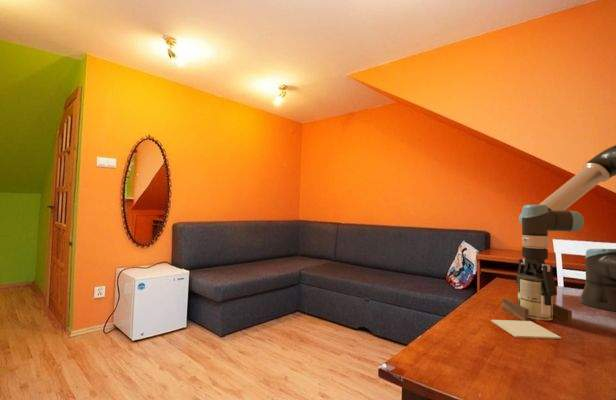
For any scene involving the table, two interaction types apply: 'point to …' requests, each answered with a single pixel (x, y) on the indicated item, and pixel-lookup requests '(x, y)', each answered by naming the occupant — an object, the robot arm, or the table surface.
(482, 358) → the table surface
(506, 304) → the wooden bars
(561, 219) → the robot arm
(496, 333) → the table surface
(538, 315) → the coffee can
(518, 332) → the mat
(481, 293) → the table surface
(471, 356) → the table surface
